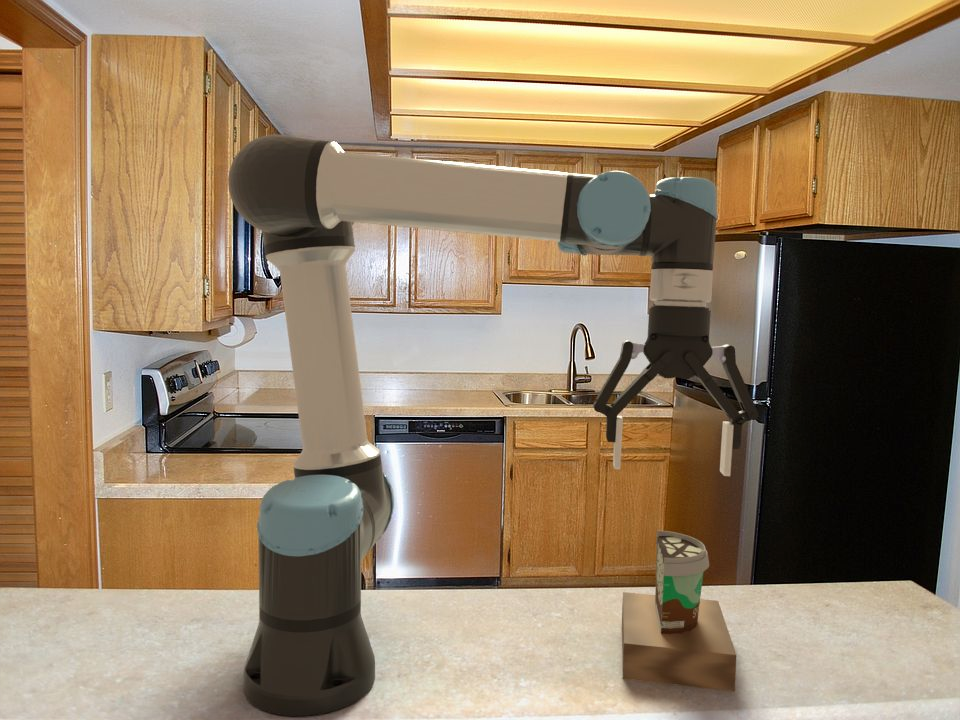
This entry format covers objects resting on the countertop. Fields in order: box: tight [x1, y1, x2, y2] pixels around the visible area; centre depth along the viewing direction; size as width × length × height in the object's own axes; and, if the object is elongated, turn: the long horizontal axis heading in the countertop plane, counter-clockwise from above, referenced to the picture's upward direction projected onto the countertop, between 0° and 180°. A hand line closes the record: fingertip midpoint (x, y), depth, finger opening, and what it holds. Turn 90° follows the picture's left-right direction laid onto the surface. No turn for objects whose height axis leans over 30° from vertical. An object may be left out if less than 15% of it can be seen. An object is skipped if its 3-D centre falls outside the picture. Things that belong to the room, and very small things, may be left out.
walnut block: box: [621, 591, 737, 692], centre depth 95 cm, size 13×16×5 cm
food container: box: [654, 529, 710, 634], centre depth 95 cm, size 12×6×10 cm, turn 171°
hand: (670, 470), depth 94 cm, fingers open, 13 cm apart
